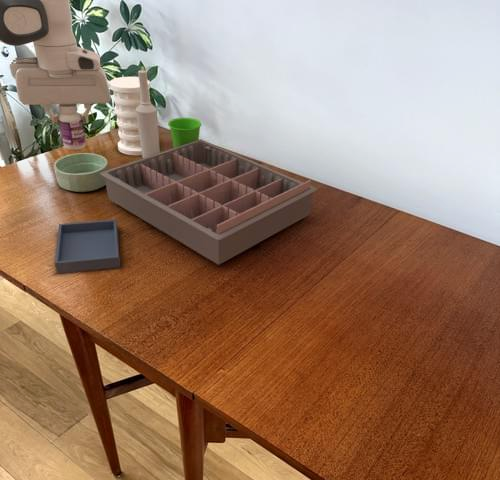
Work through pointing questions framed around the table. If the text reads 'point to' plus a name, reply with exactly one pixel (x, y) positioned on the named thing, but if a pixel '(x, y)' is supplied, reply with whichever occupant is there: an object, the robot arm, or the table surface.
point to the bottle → (147, 120)
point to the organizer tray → (209, 198)
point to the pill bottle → (71, 127)
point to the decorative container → (127, 113)
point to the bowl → (81, 172)
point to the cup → (184, 130)
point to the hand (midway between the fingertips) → (71, 122)
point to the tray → (87, 246)
